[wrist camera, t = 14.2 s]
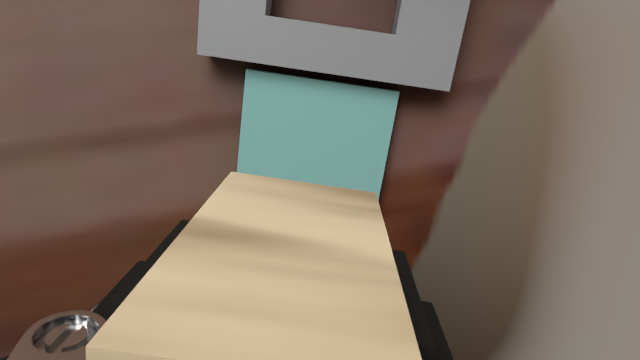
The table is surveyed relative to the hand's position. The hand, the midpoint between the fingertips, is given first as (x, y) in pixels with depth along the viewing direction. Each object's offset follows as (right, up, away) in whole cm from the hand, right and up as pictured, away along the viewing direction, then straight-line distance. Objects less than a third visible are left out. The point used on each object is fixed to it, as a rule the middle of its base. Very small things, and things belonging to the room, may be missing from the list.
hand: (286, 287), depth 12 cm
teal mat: (+1, +5, +15) cm, 16 cm away
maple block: (0, +1, +2) cm, 2 cm away
